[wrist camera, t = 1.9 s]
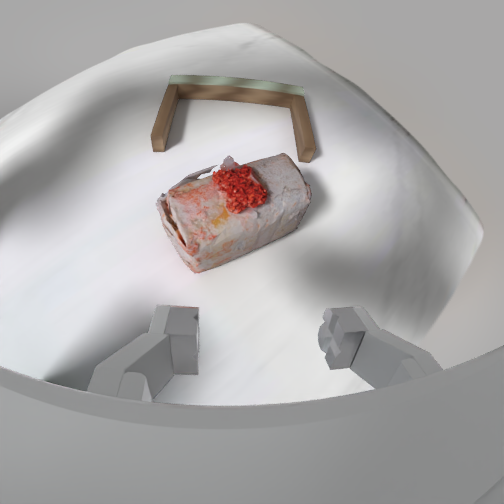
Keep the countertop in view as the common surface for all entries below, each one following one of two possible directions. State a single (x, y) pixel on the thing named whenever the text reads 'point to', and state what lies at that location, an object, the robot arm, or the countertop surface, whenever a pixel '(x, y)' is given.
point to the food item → (233, 209)
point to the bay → (241, 93)
